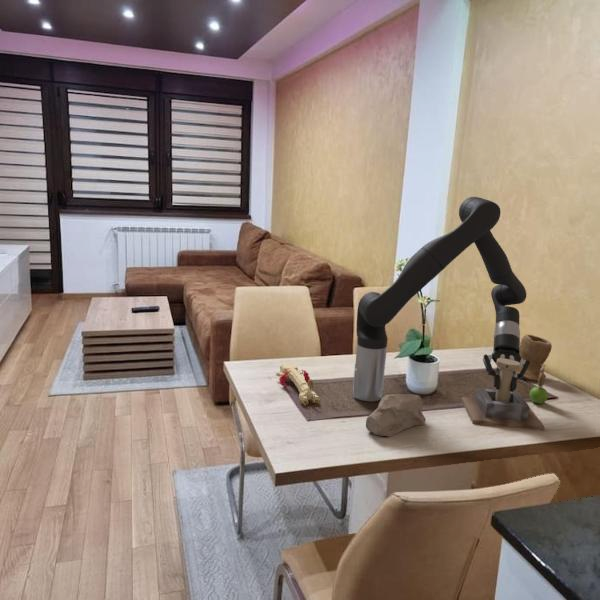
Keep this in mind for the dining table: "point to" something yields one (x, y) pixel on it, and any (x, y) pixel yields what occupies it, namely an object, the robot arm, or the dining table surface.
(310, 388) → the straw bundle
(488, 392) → the socket block
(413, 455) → the dining table surface
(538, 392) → the green ball on stick
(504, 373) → the handle
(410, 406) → the decorative stone
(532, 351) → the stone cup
